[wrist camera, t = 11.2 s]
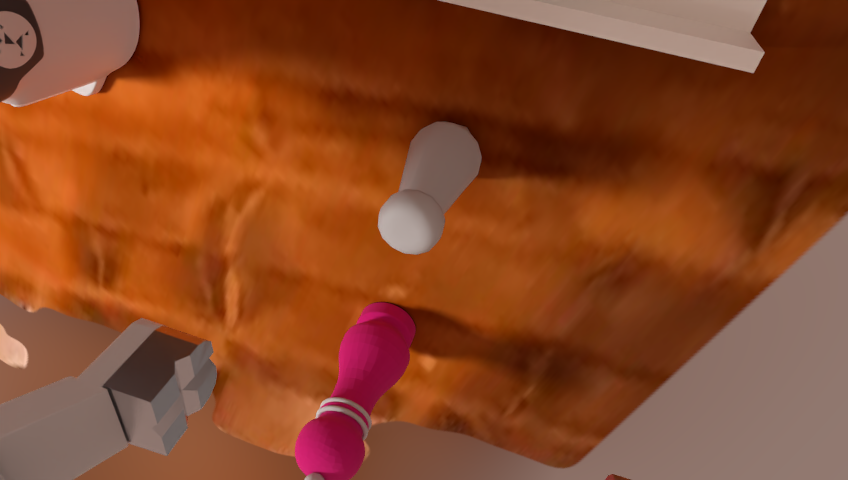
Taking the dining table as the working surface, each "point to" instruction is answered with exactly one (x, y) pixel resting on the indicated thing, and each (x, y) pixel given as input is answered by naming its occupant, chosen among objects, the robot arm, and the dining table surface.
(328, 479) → the pepper mill
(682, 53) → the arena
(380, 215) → the salt shaker
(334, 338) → the dining table surface
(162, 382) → the robot arm
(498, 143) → the dining table surface
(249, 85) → the dining table surface
